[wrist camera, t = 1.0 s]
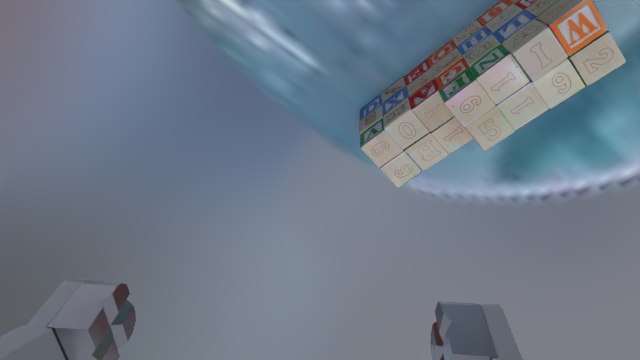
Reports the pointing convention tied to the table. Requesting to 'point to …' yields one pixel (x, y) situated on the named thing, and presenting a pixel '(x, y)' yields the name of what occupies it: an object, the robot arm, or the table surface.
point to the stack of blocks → (487, 83)
